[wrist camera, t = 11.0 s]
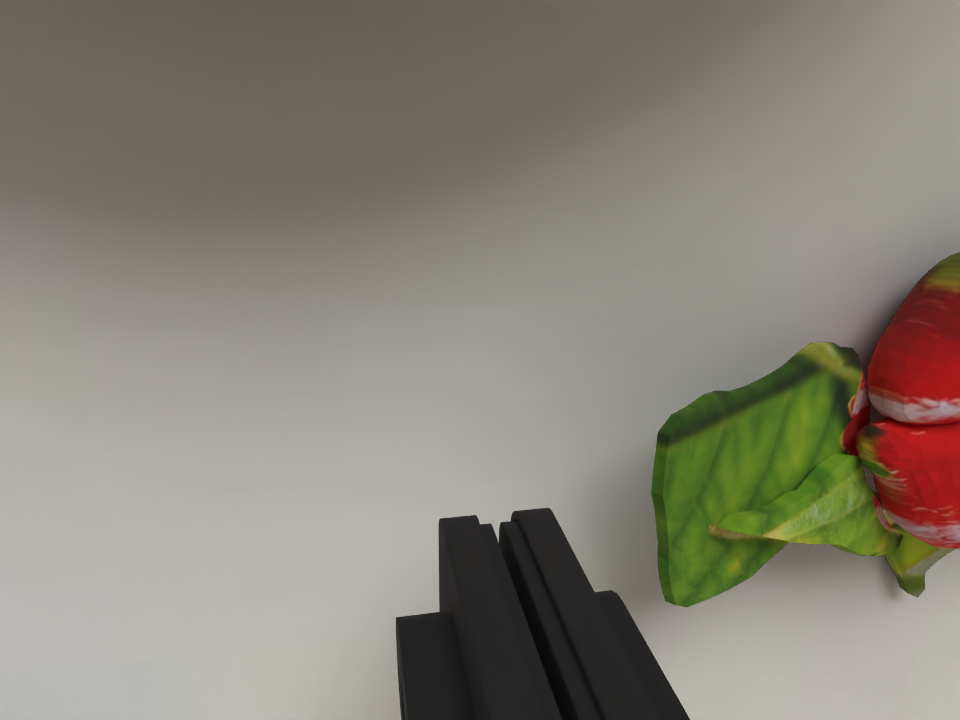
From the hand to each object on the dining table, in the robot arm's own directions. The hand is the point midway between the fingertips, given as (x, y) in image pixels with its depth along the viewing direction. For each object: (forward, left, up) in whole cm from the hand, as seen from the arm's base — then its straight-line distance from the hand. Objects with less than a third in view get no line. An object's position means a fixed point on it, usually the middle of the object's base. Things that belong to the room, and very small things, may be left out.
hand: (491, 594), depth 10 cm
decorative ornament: (-10, -5, -4) cm, 12 cm away
